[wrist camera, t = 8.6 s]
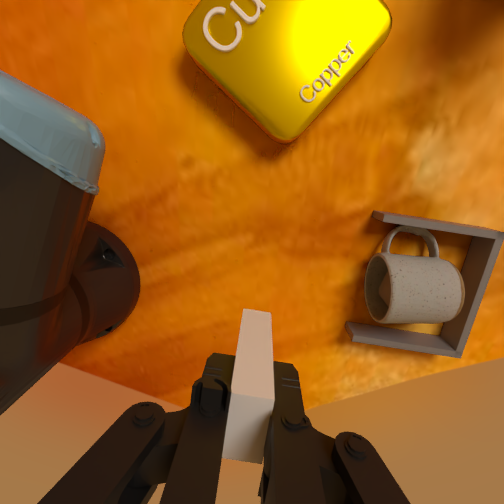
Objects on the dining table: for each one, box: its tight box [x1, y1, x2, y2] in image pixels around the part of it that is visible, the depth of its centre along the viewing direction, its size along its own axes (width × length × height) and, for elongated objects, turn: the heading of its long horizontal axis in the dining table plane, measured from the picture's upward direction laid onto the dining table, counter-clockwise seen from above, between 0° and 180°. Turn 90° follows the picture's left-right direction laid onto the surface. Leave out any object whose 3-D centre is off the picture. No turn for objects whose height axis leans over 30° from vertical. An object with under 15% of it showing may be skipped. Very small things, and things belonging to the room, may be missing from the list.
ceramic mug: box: [364, 225, 465, 324], centre depth 34 cm, size 11×8×8 cm
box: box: [345, 210, 504, 358], centre depth 36 cm, size 13×15×4 cm
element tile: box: [182, 0, 392, 144], centre depth 31 cm, size 15×15×5 cm
